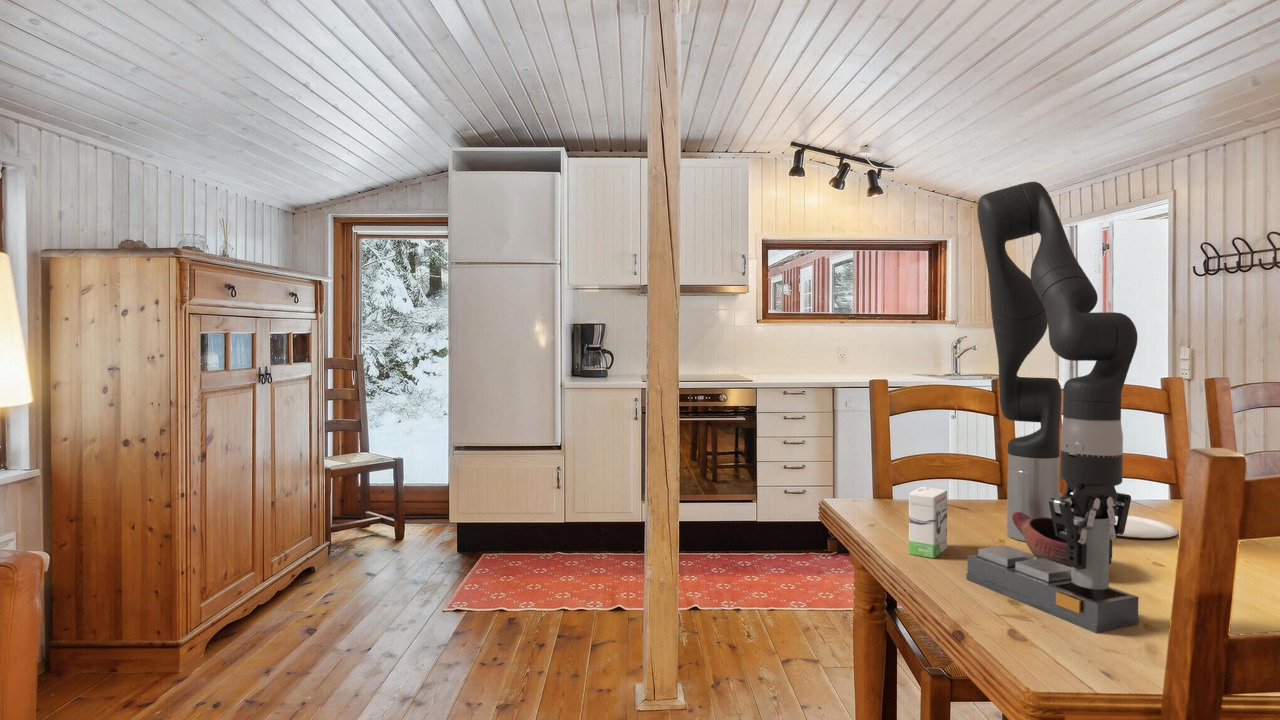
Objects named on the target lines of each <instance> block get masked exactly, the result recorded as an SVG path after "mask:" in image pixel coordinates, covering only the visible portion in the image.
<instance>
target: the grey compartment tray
mask: <svg viewBox="0 0 1280 720" xmlns="http://www.w3.org/2000/svg"><path fill="white" fill-rule="evenodd" d="M977 550H978V552H977V553H976V554H971V555H967V572H966V575H965V576H966V580H968V581H970V582H972V583H975V584H977V585H979V586H982V587H985V588H986V589H989V590H991V591H993V592H996V593H999V594H1002V595H1003V596H1006V597H1008V598H1010V599H1014V600H1015V601H1018V602H1021V603H1022V604H1025V603H1026V604H1025V605H1027V604H1028V606H1029V607H1033V608H1034V609H1037V610H1040V611H1042V612H1045V613H1046V614H1050V615H1052V616H1054V617H1057V618H1059V619H1061V620H1064V621H1066V622H1069V623H1071V624H1074V625H1076V626H1079V627H1080V628H1083V629H1085V630H1089V631H1090V632H1092V633H1095V634H1098V633H1102V632H1103V633H1104V632H1107V631H1113V630H1117V629H1122V628H1128V627H1133V626H1138V625H1140V616H1139V596H1137V595H1134V594H1131V593H1129V592H1126V591H1123V590H1120V589H1117V588H1114V587H1110V586H1109V587H1108V588H1107V589H1104V590H1095V589H1088V588H1083V587H1080V586H1077V585H1075V584H1074V583H1072V578H1071V572H1072V568H1071V567H1068V566H1065V565H1062V564H1059V563H1056V562H1053V561H1050V560H1047V559H1044V558H1039V559H1038V558H1035V556H1034V554H1033V553H1028V552H1025V551H1023V550H1019V549H1017V548H1014V547H1010V546H1007V545H1005V544H1004V545H997V546H990V547H982V548H978V549H977Z"/></svg>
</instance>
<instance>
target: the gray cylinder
mask: <svg viewBox="0 0 1280 720" xmlns="http://www.w3.org/2000/svg"><path fill="white" fill-rule="evenodd" d="M1073 518H1074V520H1078V521H1084V519H1085V518H1081V517H1076V516H1075V515H1074V514H1073ZM1075 530H1076V534H1078V532H1079V526H1077V525H1076V526H1075ZM1109 534H1110V517H1108V516H1107V517H1105V518H1094V523H1093V527H1092V529H1089V530H1088V533H1087V537H1086V541H1085V543H1084V544H1086V568H1085V569H1077V568H1074V567H1072V572H1071V578H1072V583H1074V584H1075V585H1077V586H1080V587H1083V588H1088V589H1095V590H1104V589H1107V588H1108V587H1110V586H1109V585H1110V565H1109Z"/></svg>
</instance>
